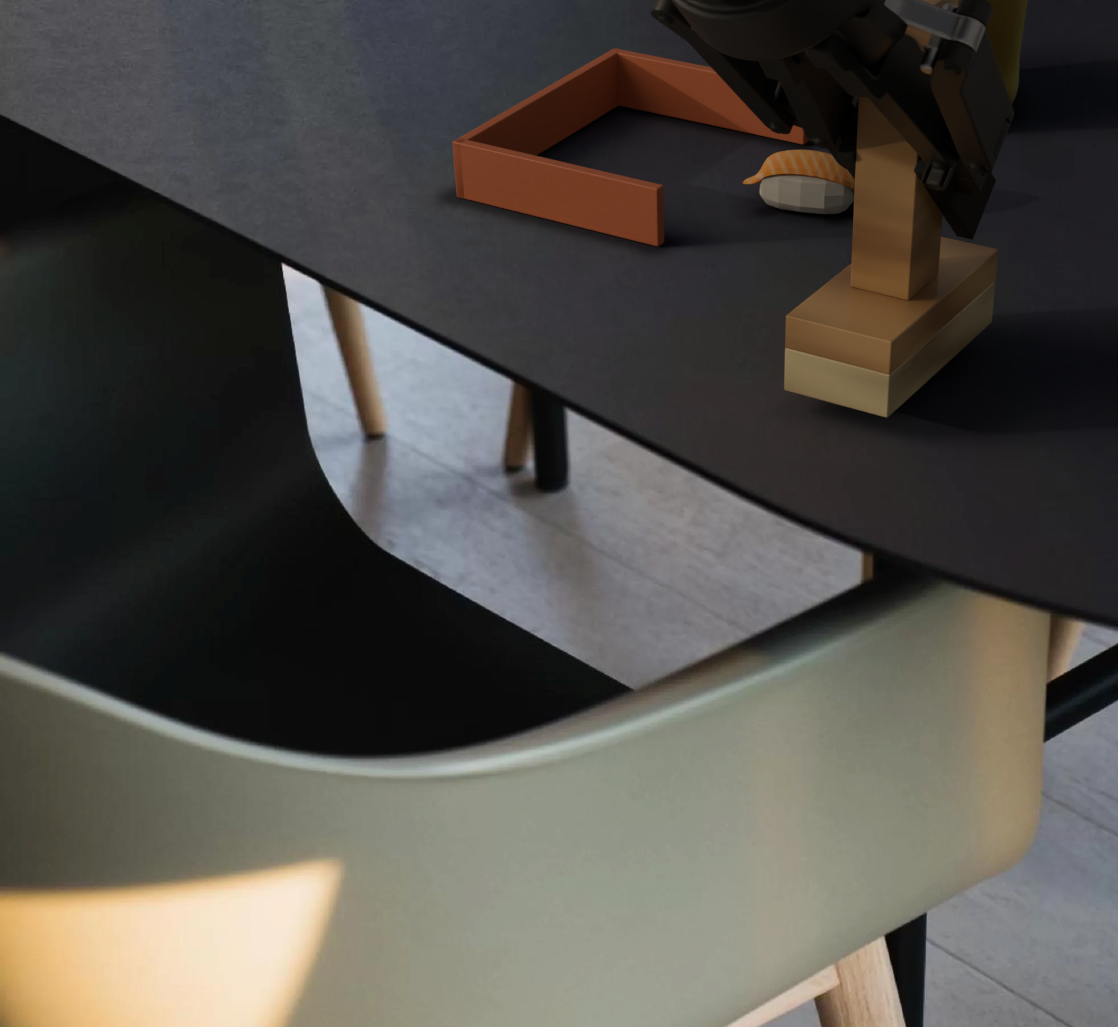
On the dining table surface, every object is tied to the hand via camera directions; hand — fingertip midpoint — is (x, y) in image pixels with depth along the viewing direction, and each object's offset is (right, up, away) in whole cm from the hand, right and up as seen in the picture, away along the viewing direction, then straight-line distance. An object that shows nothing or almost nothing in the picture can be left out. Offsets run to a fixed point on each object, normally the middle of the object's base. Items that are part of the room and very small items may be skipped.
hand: (938, 200), depth 89 cm
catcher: (-12, +8, +21) cm, 25 cm away
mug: (+5, +14, +27) cm, 31 cm away
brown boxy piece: (-2, -6, +1) cm, 7 cm away
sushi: (-4, +4, +16) cm, 17 cm away
